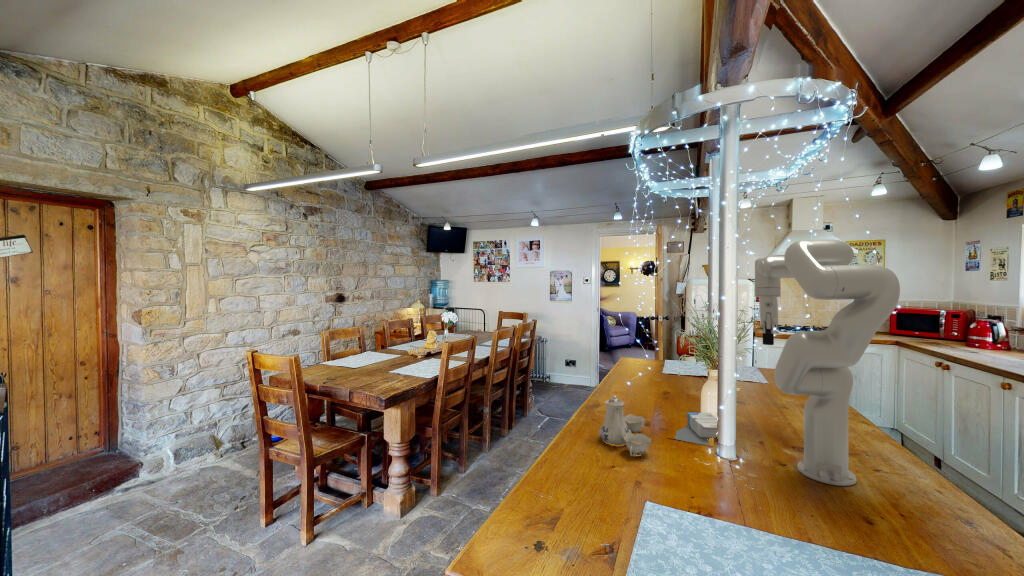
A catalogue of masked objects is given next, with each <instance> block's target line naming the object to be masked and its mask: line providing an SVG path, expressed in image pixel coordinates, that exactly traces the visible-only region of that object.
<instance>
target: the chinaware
mask: <svg viewBox="0 0 1024 576" xmlns="http://www.w3.org/2000/svg"><path fill="white" fill-rule="evenodd" d="M604 404H605V408H606V412H605V419H604V421H603V424H602V425H601V427H600V428H599V429H598V435H599V437H600V438H601V440H602V441H603V440H604V441H605V442H607V443H610V444H615V445H622V444H626V446H625V447H626V449H628V450H629V454H630V456H631V457H636V454H637V455H640V454H642V455H643V454H645V453H646V452H647V451H648V450H649V448H650V444H651V442H652V441H653V439H652V438H651V437H647V435H646V434H644V433H639V432H640V431H642V429H643V427H644V424H645V423H646V422H647V420H646V419H645V417H643V416H640V415H638V416H636V415H635V414H627V415H625V416H624V406H625V402H624V401H622V400H620V399H619V398H618V397H617V395H616V394H613V395H612V396H611V398H609V399H607V400H605V401H604ZM631 432H632V433H638V434H635V435H634V434H632V433H631ZM632 453H633V454H632Z"/></svg>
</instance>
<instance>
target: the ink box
mask: <svg viewBox="0 0 1024 576" xmlns="http://www.w3.org/2000/svg"><path fill="white" fill-rule="evenodd" d="M686 414H687V416H686V417H687V424H688V426H689V427H690V428H691V429H692V430H693V431H694V432H695V433H696V434H697V435H698V436H699V437H703V438H712V437H713V438H714V437H715V439H717V438H716V433H717V419H718V418H717V417H716V416H715V415H714V414H712V413H711V412H687V413H686Z"/></svg>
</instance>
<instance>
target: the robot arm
mask: <svg viewBox="0 0 1024 576" xmlns="http://www.w3.org/2000/svg"><path fill="white" fill-rule="evenodd" d="M854 256H855V253H854V249H853V248H852V246H851V245H850V244H849V243H847V242H845V241H843V240H839V239H812V240H811V239H810V240H809V239H807V240H797V241H794V242H793V243H791V244H790V245H789V246H788V247H787V248H786V249H785V252H784V255H769V256H764V257H760V258H757V259H755V260H754V296H755V298H758V302H759V306H758V307H759V318H760V319H759V320H760V324H761V325H762V329H763V330H762V331H763V332H762V345H764V346H765V345H766V346H774V345H775V343H774V342H775V341H774V340H775V337H774V336H775V334H774V325H775V326H778V325H779V306H778V305H779V304H778V298H781V296H782V295H781V294H782V290H781V289H782V288H781V287H782V286H781V283H782V282H781V281H782V280H781V279H794V280H795V281H796V282H797V283H798V285H799V286H800V287H801V289H802V291H803V292H804V293H806V295H807V296H809V297H810V298H812V299H814V300H821V301H831V300H833V301H834V300H836V301H838V300H839V301H842V300H844V301H845V300H853V301H852V302H850V303H849V304H847V305H846V306H844V307H843V308H841V309H840V310H838V312H836V314H834V316H833V317H832V318H831V321H830V323H829V324H828V326H827V327H826V329H823V330H822V329H821V330H805V331H804V330H801V331H797V332H795V333H793V334H791V335H790V336H789V337H788V338H787V340H786V342H785V343H784V346H783V348H782V351H781V354H780V356H779V358H778V360H777V363H776V366H775V368H774V373H773V379H774V383H775V385H776V387H777V388H778V390H780V391H781V393H784V394H787V395H793V396H809V397H808V398H807V399H806V401H805V403H804V407H803V460H800V461H798V462H797V470H798V471H799V473H800V474H802V475H804V476H805V477H807V478H810V479H812V480H813V481H816V482H820V483H823V484H827V485H833V486H837V487H838V486H840V487H841V486H842V487H847V486H848V487H849V486H854V485H855V484H856V483H857V476H856V474H855V473H853V472H852V471H851V470H849V405H850V397H851V394H852V390H853V388H854V387H853V386H854V376H853V373H852V371H851V370H850V368H851V367H854V366H855V365H856V364H858V363H859V361H860V360H861V358H862V357H863V355H864V353H865V352H866V351H867V348H868V347H869V345H870V343H871V342H872V340H873V338H874V337H875V335H876V333H877V332H878V330H879V329H880V327H881V326H882V325H883V324H884V323H885V322H886V320H887V319H888V318H889V317H890V316H891V314H892V313H893V312H894V310H895V309H896V307H897V305H898V302H899V300H900V297H901V296H900V295H901V286H900V281H899V279H898V277H897V275H896V273H895V272H894V271H892V270H891V269H890V268H887V267H885V266H881V265H877V264H876V265H875V264H851V263H852V261H853V259H854Z"/></svg>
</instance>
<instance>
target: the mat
mask: <svg viewBox="0 0 1024 576" xmlns="http://www.w3.org/2000/svg"><path fill="white" fill-rule="evenodd" d="M684 427H685V428H682V429H679V431H678V430H677V431H676V436H675V439H676V440H675V441H678V440H681V441H680V442H683V441H686V442H685V443H688V442H691V443H690V444H694V443H695V444H694V445H699V444H700V446H704V445H708V446H707V447H710V444H709V441H708V440H709V438H703V437H699V436H698V435H697V434H696V433H695V432H694V431H693V430H692V429H691V428H690V427H688V426H687V425H686V426H684ZM707 439H708V440H707Z"/></svg>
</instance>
